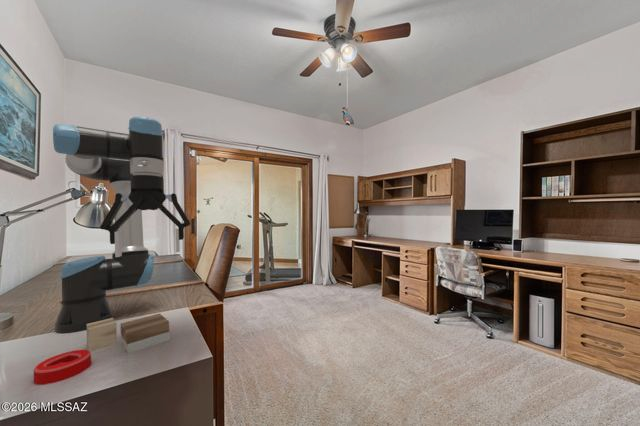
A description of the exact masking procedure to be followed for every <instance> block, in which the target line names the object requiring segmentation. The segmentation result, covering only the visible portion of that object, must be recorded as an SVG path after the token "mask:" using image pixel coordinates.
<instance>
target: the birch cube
mask: <svg viewBox="0 0 640 426" xmlns="http://www.w3.org/2000/svg"><path fill="white" fill-rule="evenodd" d="M86 340H87V341H86V345H87V348H88V349H87V350H88V351H90V352H91V351H94V350H97V349H101V348H104V347H108V346H110V345H114V344H118V342H117V322H116V320H115V319H114V317H113V318H110V319H106V320H101V321H97V322H93V323H89V324H87V329H86Z"/></svg>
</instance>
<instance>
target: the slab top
mask: <svg viewBox="0 0 640 426" xmlns="http://www.w3.org/2000/svg"><path fill="white" fill-rule="evenodd" d="M169 331H170V322H169V320H168V319H167V318H166V317H165V316H163V315H162V314H161V313H156V314H153V315H149V316H145V317H141V318H138V319H134V320H129V321H126V322H122V323H120V336H121V335H122V337H123V339H124V340H125V342H126V344H130V343H133V342H137V341H140V340H143V339H147V338H150V337H153V336H156V335H160V334H163V333H166V332H169Z"/></svg>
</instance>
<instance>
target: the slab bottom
mask: <svg viewBox="0 0 640 426" xmlns="http://www.w3.org/2000/svg"><path fill="white" fill-rule="evenodd" d="M120 339H121V345H122V346H123V348H124V350H125V351H126V352H127V354H128V355H129V354H132V353H135V352H137V351H141V350H144V349H146V348H150V347H153V346H156V345H159V344H162V343H165V342H166V343H167V342H168V341H171V331H170V330H169V332H166V333H163V334H160V335H156V336H153V337H150V338H147V339H143V340H140V341H137V342H133V343H130V344H126V342H125V340H124V339H123V337H122V335H121V334H120Z"/></svg>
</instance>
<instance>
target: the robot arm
mask: <svg viewBox="0 0 640 426" xmlns="http://www.w3.org/2000/svg"><path fill="white" fill-rule="evenodd" d="M128 122H129V123H128V128H127V129H128V133H125V132H117V131H116V132H115V131H108V130H102V129H98V128H97V129H96V128H89V127H83V126H77V125H74V124H63V123H62V124H61V123H60V124H59V123H57V124H54V125H53V128H52V141H53V143H52V144H53V149H54V151H55V152H56V153H57V154H63V155H65V158H64V159H65V163H66V166H67V167H68V169H70V171H72V172H73V173H75V174H77V175H79V176H82V177H83V178H84V177H85V178H87V179H91V180H96V181H106V182H109V186H110V187H111V188H112V189H113V190H114V203H112V205H111V207H110V209H109V210H108V212H107V214H106V216H105V217H104V219H103V221H102V222H101V224H100V226H99V228H100V230H104V231H108V233H109V243H110V245H114V251H113V252H112V253H111V254H112V255H111V256H112V258H106V256H105V255H97V256H96V255H95V256H90V257H85V258H80V259H76V260H72V261H69V262H66V263H64V264H63V265H62V266H61V276H60V279H61V308H60V310H59V313H58V316H57V318H56V321H55V323H54V331H55V332H56V333H59V334H63V333H64V334H65V333H74V332H79V331H84V330H85V331H86V330H87V324H89V323H93V322H97V321H101V320H106V319H110V318H113V319H114V316H113V314H114V313H113V310H112V308H111V306H110V304H109V302H108V300H107V291H110V290H111V291H112V290H118V289H124V288H130V287H131V288H132V287H137V286H141V285H145V284H146V285H147V284H148V283H149V282H150V281H151V280H152V278H153V277H152V276H153V274H154V273H153V272H154V264H155V263H154V262H155V260H154V255H153V253H149V249H148V248H147V247H145V246H144V230H143V228H144V227H143V211H156V210H160V211H161V212H162V213H163V214H164V215H165V216H166V217H167V218H168V219H169V220H170V221H171V222H172V223H174V224H175V225H176V227H178V228H175V253H180V251H181V250H180V249H181V247H180V246H181V243H180V241H181V240H184V237H185V235H184V233H185V232H184V231H185V230H184V229H185V228H186V227H189V226H190V225H191V222H190V220H189V218H188V217H187V215H186V213H185V212H184V209H183V208H182V207H181V205H180V203H179V201H178V196H177V194H176V193H173V192H172V193H170V194H165V189H164V183H165V181H164V178H163V177H162V176H164V159H163V136H164V134H163V127H162V123H161V122H160V121H158V119H157V120H156V119H154V118H151V117H148V116H132V117H131V118H130V119H129V121H128ZM166 200H168V202H170V203H172V205H173V207H174V208H175V209H176V212H177V213H178V215H179V216H180V218H181V219H182V222H181V221H180V220H179V219H178V218H177V217H176V216H175V215H173V213H172V212H171V211H170V210H168V208H166V207H165V206H164V204H163V203H164V202H165V201H166ZM114 220H115V222H114ZM113 222H114V223H113ZM112 223H113V224H112Z"/></svg>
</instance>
